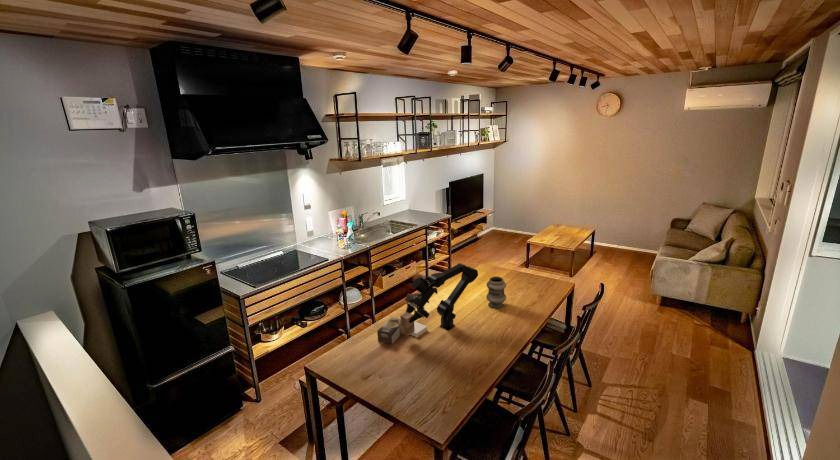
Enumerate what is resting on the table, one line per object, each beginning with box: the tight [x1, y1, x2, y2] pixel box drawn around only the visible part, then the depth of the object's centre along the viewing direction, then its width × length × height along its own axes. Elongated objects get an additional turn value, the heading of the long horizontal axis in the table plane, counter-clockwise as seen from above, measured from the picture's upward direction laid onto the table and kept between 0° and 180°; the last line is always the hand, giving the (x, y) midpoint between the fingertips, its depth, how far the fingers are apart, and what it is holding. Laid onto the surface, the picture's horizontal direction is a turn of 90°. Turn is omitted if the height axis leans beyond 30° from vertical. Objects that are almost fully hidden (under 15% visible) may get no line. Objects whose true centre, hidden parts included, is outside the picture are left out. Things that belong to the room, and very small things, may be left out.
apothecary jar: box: [486, 275, 507, 310], centre depth 237 cm, size 12×12×18 cm
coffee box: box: [376, 316, 403, 345], centre depth 212 cm, size 9×6×16 cm
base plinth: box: [409, 321, 428, 338], centre depth 215 cm, size 9×9×2 cm
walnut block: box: [399, 311, 415, 336], centre depth 203 cm, size 5×5×10 cm
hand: (407, 319), depth 203 cm, fingers closed on walnut block, 6 cm apart
